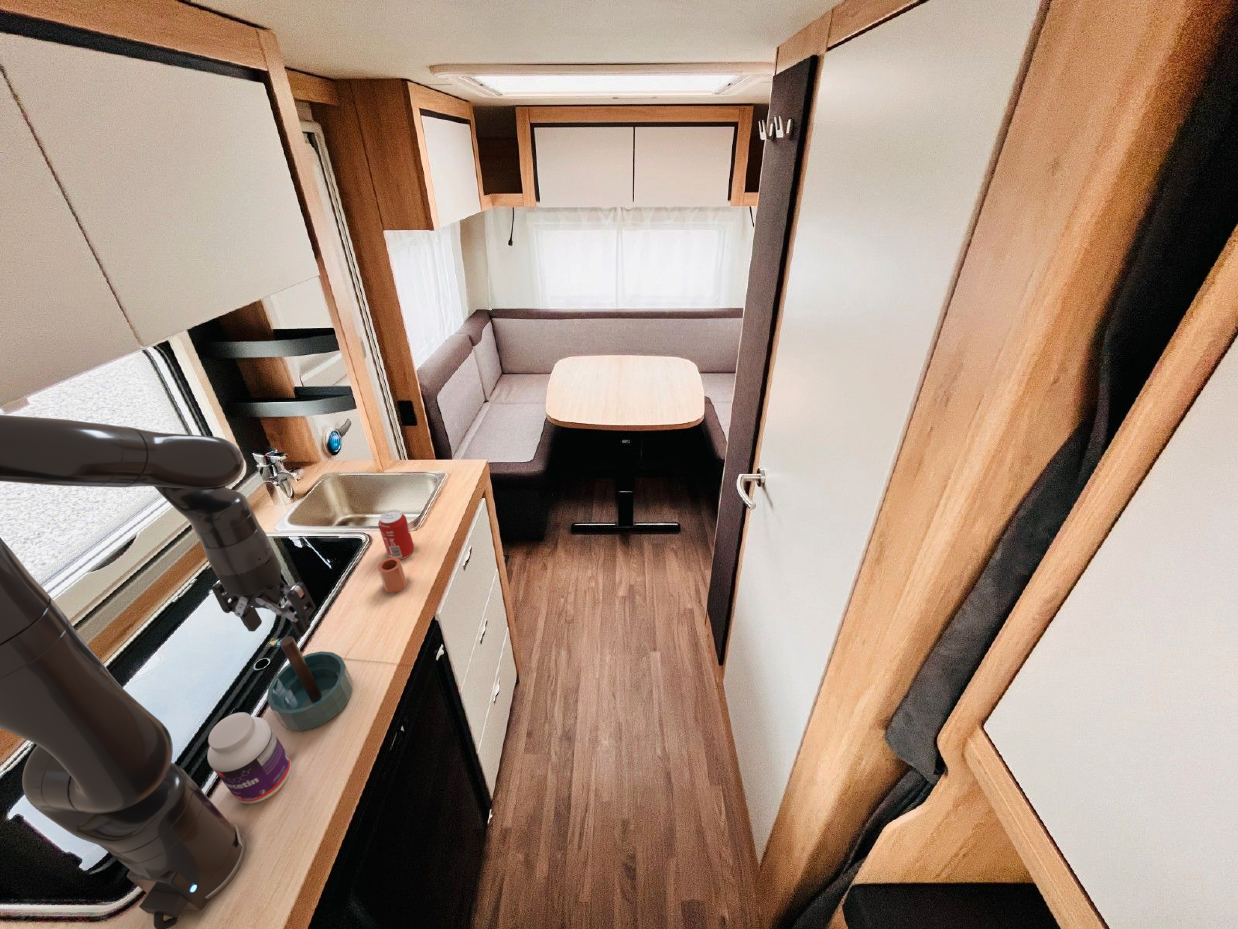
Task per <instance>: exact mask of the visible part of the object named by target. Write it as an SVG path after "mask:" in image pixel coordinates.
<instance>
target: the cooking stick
mask: <svg viewBox="0 0 1238 929" xmlns="http://www.w3.org/2000/svg"><path fill="white" fill-rule="evenodd" d="M279 645H280V648H281V649H282V651H283V653H284V655H285V656H286V658H287V660H288V662H289V664H291V666H292V667H293V669H294V671H295V673H296V675H297V677H298V678H299V680H300V682H301V684H302V686H303V688H304V689H305V691H306V693H307V695H308V697H309V699H310V701H312V702H316V701H318V700H320V699H321V697H322V693H321V691H320V689H319V687H318V685H317V683H316V681H315V679H314V677H313V675H312V673H311V671H310V669H309V667H308V666H307V664H306V662H305V660H304V658H303V656H304V655H303V654H302V652H301V650H300V648H299V646H298V645H297V642H296V641H295V638H294V637H293V636H291V635H288V636H285V637H283V638H282V639H281V640H280V642H279Z"/></svg>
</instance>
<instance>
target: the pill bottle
mask: <svg viewBox="0 0 1238 929" xmlns="http://www.w3.org/2000/svg"><path fill="white" fill-rule="evenodd" d="M207 738H208V739H207V742H208V745H209V747H208V750H207V755H206V756H207V762H208V765H209V766H210V768H211V769H212V770H213V771H214V773H215V774H216V775H217V776H218V777H219V779H220V780H221V782H222V783H223V784H224V785H225V786H226V788H227V789H228V790H229V791H230V793H231V794H232V795H233V797H234V798H235V799H236V800H237V801H238V802H240V803H242V804H249V805H251V804H257V803H260V802H262V801H265V800H267V799H268V798H270V797H272V796H273V795H274V794H276V793H277V792H278V791H279V790H280V789H281V788H282V787H283V786H284V784H285V783H286V782H287V780H288V779H289V775H290V773H291V770H292V760H291V757H290V756H289V754H288V752H287V750H286V749H285V748H284V747H283V745H282V743H281V741H280V740H279V738H278V736H277V735H276V733H275V732H274V730H273V729H272V727H271V725H270V724H269V722H268V721H267V720H266V719H264V718H262V717H258V716H252V715H251V714H249V713H248V712H245V711H244V712H242V711H241V712H235V713H232V714H230V715H227V716H225V717H224V718H223V719H221V720H220V721H219V722H217V723H216V725H215V726H213V727H212V729H211V731H210V732H209V735H208V737H207Z"/></svg>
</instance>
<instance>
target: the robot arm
mask: <svg viewBox="0 0 1238 929" xmlns="http://www.w3.org/2000/svg"><path fill="white" fill-rule="evenodd" d="M244 464H245V460H244V456H243V454H242V452H241V450H240V449H239V448H238V447H237V446H236V445H235V444H234V443H233V442H232V441H230V440H228V439H225V438H223V437H218V436H211V435H200V434H199V435H198V434H186V433H169V432H159V431H152V430H147V429H141V428H138V427H131V426H124V425H118V424H109V423H100V422H93V421H88V420H87V421H85V420H75V419H65V418H52V417H51V418H50V417H37V416H22V415H6V414H0V482H4V483H14V484H15V483H16V484H17V483H18V484H28V485H29V484H31V485H41V486H57V487H77V488H135V487H139V488H140V487H154V489H155V490H156V491H157V492H158V493H159V494H160V495H161V496H162V497H163V498H164V499H165V500H166V501H167V502H168V503H169V504H170V505H171V506H172V507H173V508H174V509H175V510H176V511H177V512H178V513H180V514H181V515H182V516H183V517H184V518H185V519H186V520H187V521H188V522H189V523H190V525H191V527H192V529H193V531H194V533H195V535H196V537H197V539H198V540H199V542H200V544H201V546H202V549H203V551H204V554H205V557H206V560H207V561H208V563H209V565H210V567H211V569H212V570H213V572H214V574H215V576H216V577H217V579H218V581H216V582H215V584H213V585H212V586H211V591H212V593H213V594H214V596H215V598H216V600H217V602H218V604H219V606H220V609H221V610H222V612H223V613H225V614H230V613H233V614H234V615H235V616H236V617H238V618H240V620H241V622H242V623H243V625H244V627H245V628H246V629H247V631H248V632H252V633H253V632H256V631H257V629H258V628H259V627H260V626H261V625H262V623H263V621H262V618H261V617H260V614H259V613H258V611H257V609H266V610H270V611H271V612H272V613H274V614H275V615H277V616H279V617H280V616H284V617H285V618H286V619H288V620H289V621H290V624H291V626H292V628H293V630H294V632H295V634H296V637H304V636H305V635H306V634H307V632H308V631H309V630H310V628H311V626H312V625H311V623H310V620H309V617H310V616H311V614H312V613H313V612H314V611H315V610H316V609H317V607H316V604H315V603H314V601H313V599H312V597H311V595H310V593H309V591H308V590H307V586H306V585H305V584H304V583H303V582H301V581H298V582H296V584H295V585H287V583H285V582H284V581H283V580H282V578H281V574H282V566H281V563H280V561H279V559H278V557H277V555H276V553H275V550H274V548H273V546H272V544H271V542H270V540H269V538H268V535H267V533H266V532H265V530H264V528H262V526H261V524H260V523H259V520H258V518H257V517H256V514H255V512H254V509H253V508H252V506H251V504H250V502H249V500H248V499H247V497H246V496H245V495H244V494H243V493H242V492H239V491H238V490H234V489H232V488H228V486H231V485H232V484H233V483H235V482H236V481H237V480H238V479H239V478H240V476H241V475H242V473H243V471H244V468H245V465H244ZM284 598H285V600H286V601H285V603H284V604H283V605H282V606H279V604H280V603H281V602H282V601H283V599H284ZM290 607H292V608H293V609H294V611H293V612H292V611H291V610H290ZM0 730H2V731H5V732H7V733H10V734H12V735H15V736H16V737H20V738H21V739H24V740H26V741H29V742H31V743H33V744H34V745H36V746H35V747H34V749H32V751H31V753H30V754H29V756H28V758H27V760H26V763H25V765H24V768H23V772H22V776H21V777H22V778H21V783H22V784H21V785H22V790H23V794H24V796H25V798H26V799H27V801H28V803H29V804H30V805H31V806H32V807H33V808H35V809H36V811H38V812H39V813H41V814H42V815H43V816H44V817H46V818H48V819H49V820H51V821H52V822H54V823H55V824H57V825H58V826H59V827H60V828H62V829H64V830H65V831H66V832H68V833H70V834H71V835H72V836H74V837H76V838H78V839H80V840H83V841H86V842H89V843H91V844H94V845H95V844H96V845H97V846H99V847H101V848H102V849H103V850H104V851H106V852H107V853H109V854H110V855H111V856H112V857H114V858H115V859H116V860H117V861H119V862H120V863H121V864H122V865H123V866H125V867H126V868H127V869H129V871H128V872H127V874H126V878H127V879H128V880H130V882H132V883H133V884H134V885H136V886H137V887H139V888H140V889H141V890H142V891H144V892H145V893H146V896H145V897H144V899H143V900H142V902H141V903H140V904H139V906H138V908H139V909H141V910H142V911H144V912H145V913H146V914H148V915H149V914H150V915H153V926H154V929H169V928H171V927H174V926H175V925H176V924H177V923H178V921H179V918H180V917H181V916H182V914H183V912H184V911H185V909H188V910H195V911H202V910H203V909H204V908H205V906H206V904H207V903H208V902H209V901H210V900H211V899H212V898H214V897H215V896H217V895H218V894H219V893H220V892H222V890H223V889H224V888H225V887H227V885H228V884H229V883H231V881H232V880H233V878H234V877H235V875H236V874H237V873H238V871H239V869H240V867H241V866H242V864H243V861H244V859H245V855H246V849H247V847H246V846H247V844H246V839H245V837H244V835H243V834H242V833H241V832H240V829H239V826H238V825H237V824H236V823H234V825H233V824H232V823H231V822H230V821H229V819H227V818H226V816H225V815H224V814H223V813H222V812H221V811H220V810H219V809H218V807H217V806H216V805H215V804H214V803H213V802H212V800H211V799H210V798H209V797H208V796H207V794H205V793H204V791H203V790H202V789H201V787H200V786H198V784H197V783H196V782H195V781H194V780H193V779H192V778H191V776H190V775H189V774H188V773H187V772H186V771H185V769H183V768H182V767H181V766H180V765H179V764H176V763H174V762H172V761H173V755H174V746H173V745H174V744H173V740H172V737H171V733H170V731H169V730H168V728H167V727H166V725H165V724H164V723H163V722H162V721H161V720H160V719H159V718H158V717H156V716H155V715H154V714H153V713H151V712H150V711H149V710H148V709H147V708H145V707H144V706H143V705H142V704H141V703H140V702H139V701H137V699H135V698H134V697H133V696H132V695H130V694H129V693H128V691H126V690H125V688H123V686H121V684H120V683H119V682H118V681H117V680H116V679H115V677H113V675H112V674H111V672H110V671H109V670H108V668H107V667H106V666H105V664H104V663H103V662H102V661H101V659H100V658H99V657H98V655H96V654H95V652H94V651H93V650H92V649H91V647H90V646H89V645H88V644H87V643H86V641H85V640H84V639H83V638H82V637H81V636H80V634H79V633H78V632H77V630H76V629H75V627H74V626H73V623H71V621H70V619H69V618H68V617H67V616H66V614H65V613H64V612H63V610H62V609H61V608H60V606H59V605H58V604H57V603H56V602H55V600H54V599H53V598H52V597H51V595H50V594H49V593H48V592H47V590H46V589H45V588H43V586H42V585H41V584H40V583H39V582H38V581H37V580H36V578H35V577H34V576H33V575H32V574H31V573H30V571H29V570H28V569H27V568H26V567H25V566H24V564H23V563H22V561H21V560H20V559H19V557H18V556H17V555H16V554H15V552H14V551H13V550H12V548H10V546H9V545H8V544H7V543H6V541H5V540H4V539H3V537H1V536H0ZM164 917H169V918H168V919H166V920H165V918H164Z"/></svg>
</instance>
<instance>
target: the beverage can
mask: <svg viewBox="0 0 1238 929" xmlns="http://www.w3.org/2000/svg"><path fill="white" fill-rule="evenodd" d="M377 525H378V528H379V532H380V535H381V538H382V542H383V544H384V547H385V550H386V553H387V556H388V558H392V557H393V558H398V559H399V560H403V559H406V558H408V557H409V556H411V554H412V553H413V552H414V550H415V544H414V541H413V538H412V533H411V530H410V526H409V524H408V518H407V517H406V515H405V514H404V513H402V511H400V510H398V509H391V510H387V511H385V512H383V513H382V514H381V515H380V516H379V520H378V524H377Z"/></svg>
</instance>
